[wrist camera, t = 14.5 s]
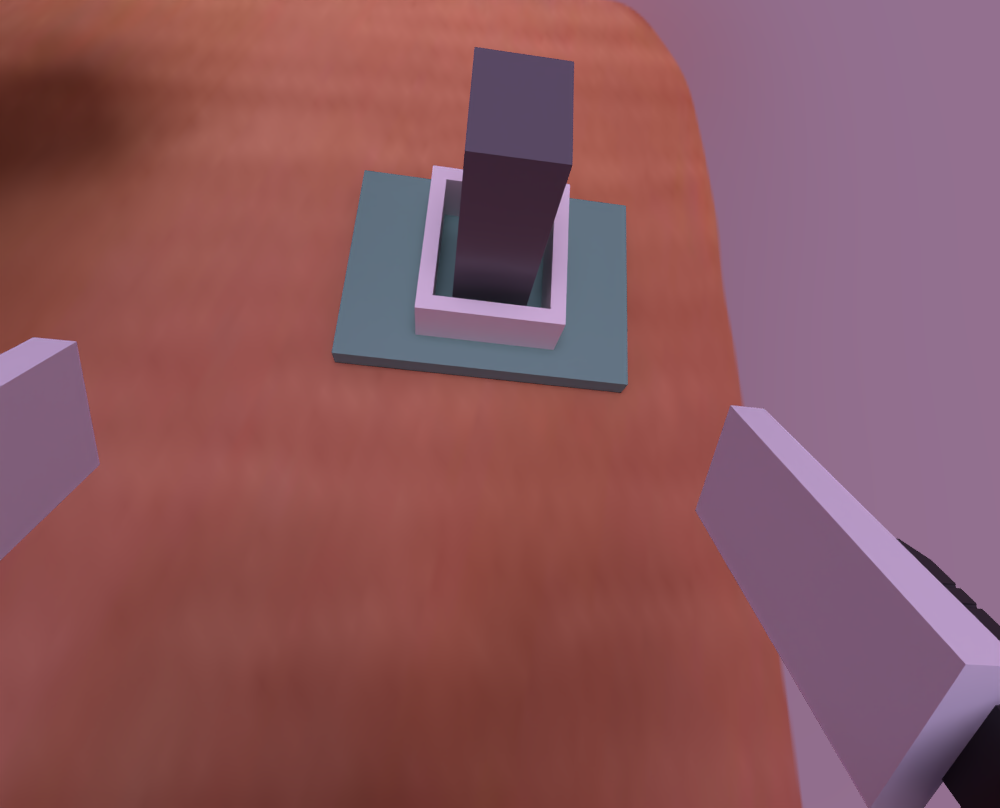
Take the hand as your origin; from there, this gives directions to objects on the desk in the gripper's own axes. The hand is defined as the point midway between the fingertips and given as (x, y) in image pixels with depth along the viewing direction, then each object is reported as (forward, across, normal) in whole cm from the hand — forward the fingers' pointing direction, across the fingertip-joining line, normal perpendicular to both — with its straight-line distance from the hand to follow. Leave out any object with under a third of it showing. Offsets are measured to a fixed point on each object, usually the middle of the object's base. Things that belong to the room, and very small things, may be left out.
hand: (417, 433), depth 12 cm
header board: (+24, +3, -3) cm, 24 cm away
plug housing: (+23, +3, -2) cm, 23 cm away
